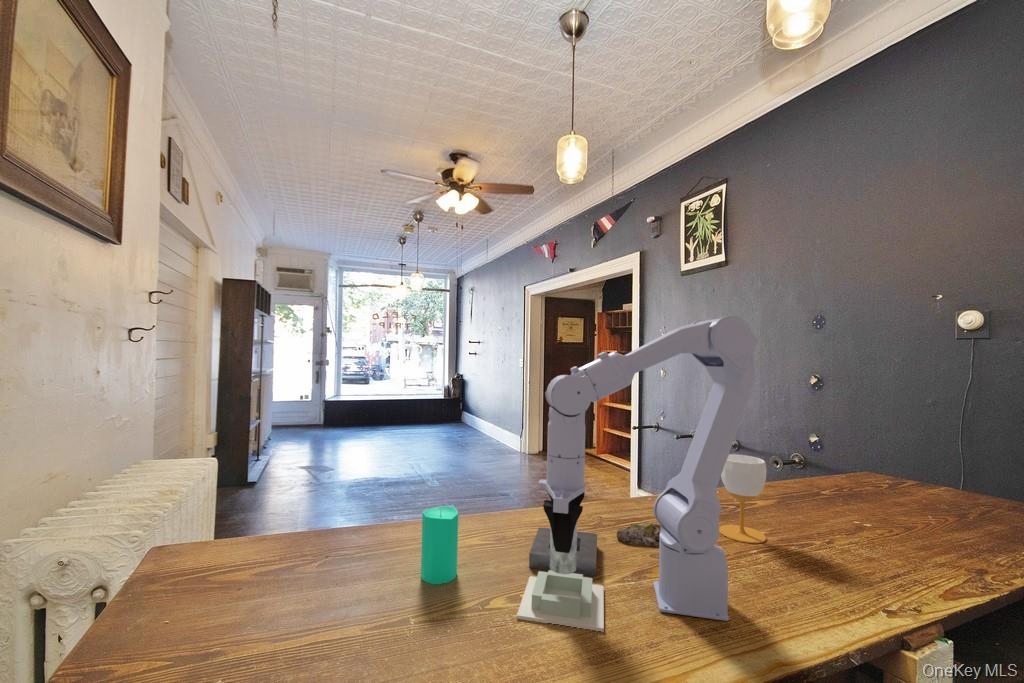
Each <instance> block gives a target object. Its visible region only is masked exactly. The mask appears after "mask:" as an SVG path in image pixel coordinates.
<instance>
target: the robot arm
mask: <svg viewBox="0 0 1024 683" xmlns="http://www.w3.org/2000/svg"><path fill="white" fill-rule="evenodd" d="M758 343H759V339H758V338H757V337H756V335H755V333H754V331H753V329H752V328H751V326H750V325H749V323H748V322H747V321H746V320H745V319H743V318H741V317H739V316H736V315H726V316H723V317H720V318H719V317H718V318H714V319H707V320H706V319H701V320H700V319H699V320H696V321H694V322H692V323H690V324H685V325H681V326H678V327H676V328H674V329H672V330H670V331H668V332H667V333H664V334H662V335H660V336H659V337H656V338H654V339H652V340H651V341H649V342H647V343H645V344H643V345H642V346H639V347H637V348H636V349H634V350H632V351H630V352H628V353H626V354H623V353H622V354H621V353H619V352H616V351H612V352H609V353H608V351H602V352H600V353H598V354H597V359H594V360H593V361H591V362H588V363H586V364H584V365H583V366H580V367H578V366H572V367H570V369H569V370H570V375H569V374H560V375H557V376H555V377H553V379H551V380H550V382H549V383H548V386H547V388H546V391H545V392H544V395H545V399H546V401H547V404H548V405H549V407H548V409H549V411H548V423H547V444H546V445H547V447H546V448H547V449H546V451H547V452H546V454H547V457H546V479H543V478H542V479H540V480H539V481H538V487H539V488H543V489H545V490H546V491H547V492H548V496H549V498H550V500H548V499H545V500H544V502H543V505H542V506H543V511H544V513H545V515H546V517H547V520H548V522H549V524H550V529H551V531H552V537H553V543H554V548H555V551H556V552H563V553H569V552H570V549H571V545H572V540H573V534H574V529H575V526H576V523H577V524H578V521H579V518H580V516H581V515H582V513H583V509H584V506H583V505H582V502H583V501H584V498H585V494H586V493H585V492H586V490H587V489H586V483H585V476H586V475H585V474H586V473H585V472H586V471H585V468H586V465H585V464H586V411H588V409H589V407H590V406H591V402H592V403H596V402H598V401H600V400H603V399H605V398H606V397H608V396H610V395H611V396H612V394H614V393H616V392H619V391H621V390H623V389H625V388H627V387H629V386H631V384H632V382H633V379H634V377H635V375H636V373H640V372H641V371H643V370H646V369H648V368H651V367H653V366H655V365H657V364H661V363H662V362H664V361H667V360H669V359H671V358H675V357H676V356H678V355H681V354H690V355H691V356H692V357H694V359H696V361H698V362H699V363H700V364H701V365H702V366H703V367H704V368H705V369H706V371H707V373H708V374H709V376H710V377H711V379H712V382H713V384H712V386H711V389H710V391H709V394H708V397H707V399H706V402H705V405H704V408H703V410H702V413H701V416H700V419H699V421H698V424H697V427H696V429H695V431H694V432H695V433H694V435H693V438H692V440H691V442H690V445H689V447H688V450H687V454H686V457H685V458H684V462H683V464H682V466H681V470H680V472H679V473H678V474H677V475H676V476H673V478H670V479H669V481H668V483H667V485H666V487H665V489H664V490H663V491H662V492H661V493H660V494H659V495H658V496H657V497H656V499H655V501H654V504H653V515H654V518H655V519H656V521H657V522H658V524H659V525H660V526H661V532H660V540H659V545H658V549H659V550H658V551H659V552H658V554H659V556H658V557H659V558H658V560H659V561H658V581H657V580H655V581H653V589H654V592H655V597H656V601H657V606H658V610H659V611H660V612H662V613H667V614H675V615H681V616H683V615H684V616H688V617H689V616H690V617H698V618H704V619H710V620H718V621H725V622H728V621H729V620H730V617H729V615H728V612H729V611H728V607H729V603H728V600H729V598H728V597H729V595H728V594H729V593H728V592H729V591H728V590H729V572H728V562H727V557H726V554H725V550H724V549H723V547H722V546H720V545H716V543H717V541H718V540H719V536H720V532H719V528H720V524H719V522H720V520H719V518H720V515H721V512H722V504H721V502H720V499H719V496H718V494H717V487H718V485H719V482H720V480H721V474H722V472H723V469H724V466H725V463H726V461H727V458H728V455H729V454H730V452H731V450H732V447H733V444H734V442H735V438H736V436H737V433H738V430H739V429H740V425H741V422H742V421H743V417H744V414H745V412H746V408H747V407H748V403H749V401H750V398H751V395H752V392H753V390H754V387H755V384H756V367H755V358H754V357H755V356H754V355H755V354H754V352H755V350H756V348H757V345H758Z"/></svg>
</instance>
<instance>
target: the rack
mask: <svg viewBox="0 0 1024 683" xmlns="http://www.w3.org/2000/svg"><path fill="white" fill-rule="evenodd" d="M604 589H605V588H604V585H601V584H593V578H592V577H587V576H584V575H583V574H575V573H571V574H559V573H556V572H554V571H552V570H547V571H540V570H538V572H537V576H532V575H531V576H530V575H529V577H528V580H527V583H526V586H525V590H524V592H523V596H522V599H521V601H520V604H519V608H518V611H517V613H516V619H517V620H521V621H529V622H534V621H535V622H534V623H540V622H541V623H542V624H547V623H552V624H551V625H553V624H560V625H566V626H573V627H577V628H576V629H579V628H586V629H591V630H590V631H592V630H596V631H595V632H598V631H601V632H600V633H604V632H605V631H604V629H605V628H604V626H605V625H604V624H605V623H604V621H605V620H604V616H605V614H604V613H605V612H604V611H605V610H604V609H605V608H604V606H605V605H604V604H605V603H604V598H605V597H604V596H605V595H604ZM541 623H540V624H541ZM560 625H559V626H560ZM566 626H565V627H566ZM573 627H572V628H573Z"/></svg>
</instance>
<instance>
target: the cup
mask: <svg viewBox="0 0 1024 683" xmlns="http://www.w3.org/2000/svg"><path fill="white" fill-rule="evenodd" d="M720 479H721V481H722V484H723V485H724V489H725V490H726V491H727V492H728V494H729V495H731V497H733V498H734V499H736V500H737V501H739V525H738V524H724V525H721V526H719V534H721V535H722V534H723V535H722V536H724V537H725V536H726V538H727V537H728V538H727V539H729V540H732V541H737V542H740V543H746V544H762V543H765V542H766V541H767V539H768V538H767V537H766V535H765V534H764V533H762V532H761V531H759V530H757V529H754V528H752V527H748V526H745V503H746V502H747V501H752V500H754V499H755V498H756V497H759V495H760V494H761V493H762V490H763V489H764V487H765V483H766V480H767V464H766V461H765V460H764V459H762V458H760V457H755V456H751V455H745V454H737V453H735V454H733V453H731V454H730V453H729V455H728V458H727V461H726V463H725V466H724V469H723V472H722V474H721V477H720Z"/></svg>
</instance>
